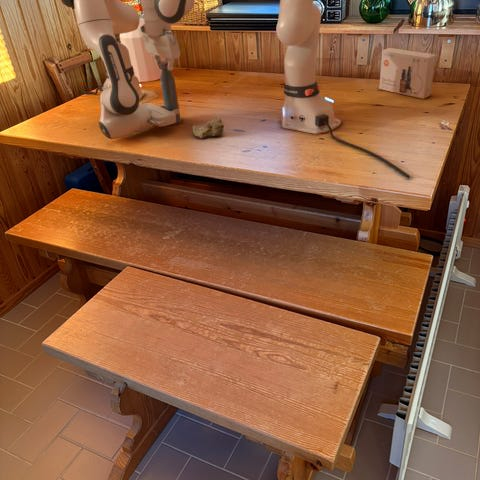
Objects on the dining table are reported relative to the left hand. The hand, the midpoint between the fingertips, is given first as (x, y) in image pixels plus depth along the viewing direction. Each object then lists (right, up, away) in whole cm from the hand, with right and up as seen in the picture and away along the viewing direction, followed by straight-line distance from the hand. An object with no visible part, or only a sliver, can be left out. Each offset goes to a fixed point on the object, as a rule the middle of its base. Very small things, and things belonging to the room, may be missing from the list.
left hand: (174, 108), depth 181 cm
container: (-22, +35, +63) cm, 75 cm away
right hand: (-2, +12, -9) cm, 16 cm away
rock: (+14, -13, -11) cm, 22 cm away
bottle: (0, -5, +2) cm, 5 cm away
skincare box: (+93, +9, +8) cm, 93 cm away
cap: (-2, +14, -10) cm, 18 cm away
